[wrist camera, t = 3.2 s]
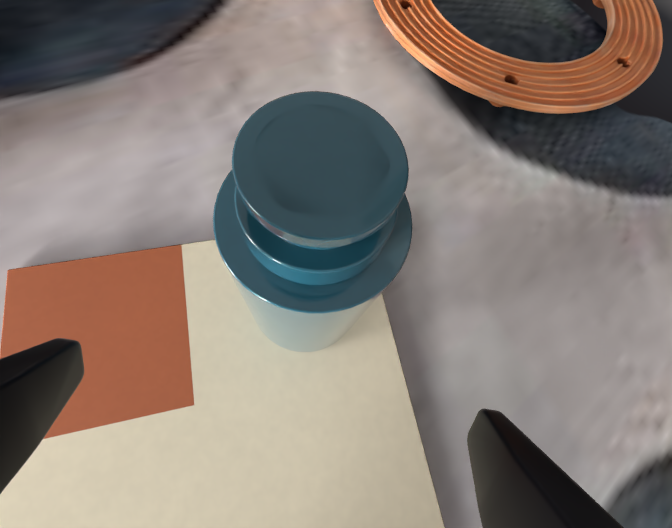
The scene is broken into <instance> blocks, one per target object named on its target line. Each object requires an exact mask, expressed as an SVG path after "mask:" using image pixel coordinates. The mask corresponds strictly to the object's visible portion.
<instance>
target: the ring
mask: <svg viewBox="0 0 672 528" xmlns="http://www.w3.org/2000/svg"><path fill="white" fill-rule="evenodd" d="M373 1H374V3H375V6H376V8H377V10H378V12H379V15H380V17H381V19H382V20H383V22H384V24H385V25H386V27H387V28H388V29H389V31H390V32H391V33H392V35H393V36H394V37H395V38H396V40H397V41H398V42H399V43H400V44H401V45H402V46H403V47H404V48H405V49H406V50H407V51H408V52H409V53H410V54H411V55H412V56H413V57H414V58H416V59H417V60H418V61H419V62H420V63H422V64H423V65H424V66H426V67H427V68H428V69H430V70H431V71H432V72H434V73H435V74H437V75H438V76H440V77H442V78H443V79H445V80H446V81H448V82H450V83H451V84H453V85H455V86H457V87H459V88H461V89H462V90H464V91H467V92H469V93H471V94H473V95H476V96H478V97H481V98H483V99H486V100H489V102H490V103H491V104H492V105H494V106H496V107H503V106H508V107H512V108H517V109H522V110H527V111H532V112H541V113H556V114H565V113H578V112H586V111H590V110H595V109H599V108H602V107H605V106H608V105H610V104H613V103H615V102H617V101H619V100H621V99H623V98H624V97H626V96H628V95H629V94H630V93H631V92H633V91H634V90H635V89H636V88H638V87H639V86H640V85H641V84H642V83H643V82H644V81H645V80H646V79H647V78H648V77H649V76H650V75H651V73H652V72H653V71H654V69H655V67H656V65H657V63H658V61H659V58H660V55H661V50H662V44H663V35H662V25H661V21H660V17H659V14H658V11H657V9H656V7H655V4H654V2H653V0H592V2H593V4H594V5H595V6H597V7H599V8H602V9H605V12H606V16H607V32H606V36H605V39H604V41H603V43H602V45H601V46H600V47H599V48H598V49H597V50H596V51H594V52H593V53H591V54H590V55H587V56H585V57H583V58H580V59H577V60H573V61H567V62H560V63H540V62H532V61H525V60H521V59H517V58H513V57H509V56H506V55H503V54H500V53H498V52H495V51H493V50H490V49H488V48H486V47H484V46H482V45H480V44H478V43H476V42H475V41H473V40H471V39H470V38H468V37H467V36H465V35H464V34H462V33H461V32H460V31H458V30H457V29H456V28H455V27H454V26H452V25H451V24H450V23H449V22H448V21H447V20H446V19H445V18H444V17H443V16H442V15H441V13H440V12H439V11H438V10H437V8H436V7H435V6H434V4H433V2H432V1H431V0H373Z"/></svg>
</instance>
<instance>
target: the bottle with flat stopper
mask: <svg viewBox="0 0 672 528" xmlns="http://www.w3.org/2000/svg"><path fill="white" fill-rule="evenodd" d="M408 172H409V168H408V159H407V155H406V152H405V148H404V146H403V144H402V141H401V139H400V138H399V136H398V134H397V133H396V131H395V130H394V129H393V127H392V126H391V125H390V124H389V123H388V122H387V121H386V119H385V118H384V117H382V116H381V115H380V114H379V113H377V112H376V111H375V110H373V109H372V108H370V107H369V106H367V105H365V104H363V103H361V102H360V101H358V100H355V99H352V98H350V97H347V96H343V95H340V94H335V93H330V92H319V91H310V92H299V93H294V94H290V95H286V96H283V97H280V98H277V99H275V100H273V101H271V102H269V103H267V104H266V105H264V106H263V107H261V108H260V109H258V110H257V111H256V112H255V113H254V114H253V115H251V116H250V118H249V119H248V120H247V121H246V122H245V124H244V125H243V127H242V128H241V130H240V132H239V134H238V136H237V138H236V141H235V144H234V148H233V154H232V170H231V171H230V173H229V174H228V176H227V177H226V179H225V180H224V182H223V184H222V186H221V188H220V190H219V193H218V195H217V199H216V202H215V206H214V215H213V229H214V235H215V241H216V244H217V247H218V250H219V253H220V255H221V257H222V259H223V261H224V263H225V265H226V267H227V269H228V270H229V272H230V274H231V276H232V278H233V280H234V282H235V284H236V285H237V287H238V289H239V291H240V293H241V295H242V297H243V299H244V300H245V302H246V304H247V306H248V308H249V310H250V312H251V314H252V316H253V317H254V319H255V321H256V323H257V325H258V327H259V328H260V330H261V331H262V332H263V334H264V335H265V336H266V337H267V338H268V339H270V340H271V341H272V342H273V343H275V344H277V345H278V346H280V347H283V348H285V349H288V350H291V351H296V352H313V351H318V350H322V349H325V348H327V347H329V346H331V345H333V344H335V343H336V342H338V341H339V340H340V339H341V338H342V337H343V336H344V335H345V334H346V333H347V332H348V331H349V330H350V329H351V328H352V326H353V325H354V324H355V323H356V322H357V321H358V320H359V318H360V317H361V316H362V315H363V314H364V313H365V312H366V310H367V309H368V308H369V307H370V306H371V305H372V303H373V302H374V301H375V300H376V299H377V298H378V297H379V295H380V294H381V293H382V292H383V291H384V290H385V289H386V287H387V286H388V285H389V284H390V283H391V282H392V281H393V279H394V278H395V277H396V275H397V274H398V272H399V271H400V270H401V268H402V266H403V264H404V262H405V260H406V257H407V254H408V252H409V249H410V244H411V238H412V218H411V211H410V207H409V203H408V200H407V198H406V195H405V191H406V188H407V183H408Z"/></svg>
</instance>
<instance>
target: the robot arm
mask: <svg viewBox="0 0 672 528" xmlns="http://www.w3.org/2000/svg"><path fill="white" fill-rule="evenodd" d="M83 376H84V362H83V355H82V348H81V344H80V343H79V342H78V341H76V340H71V339H65V338H56V339H53V340H50V341H47V342H45V343H42V344H39V345H36V346H34V347H31V348H28V349H26V350H23V351H20V352H18V353H15V354H12V355H9V356H7V357H4V358H1V359H0V494H1V493H2V491H3V490H4V489H5V488H6V486H7V485H8V484H9V483H10V481H11V480H12V479H13V478H14V476H15V475H16V474H17V473H18V471H19V470H20V469H21V468H22V466H23V465H24V464H25V463H26V461H27V460H28V459H29V457H30V456H31V455H32V453H33V452H34V451H35V450H36V448H37V447H38V445H39V444H40V443H41V441H42V440H43V438H44V437H45V435H46V434H47V432H48V431H49V429H50V428H51V426H52V425H53V423H54V422H55V420H56V419H57V417H58V416H59V414H60V413H61V411H62V410H63V408H64V407H65V405H66V404H67V402H68V400H69V399H70V397H71V396H72V394H73V393H74V391H75V390H76V388H77V387H78V385H79V384H80V382H81V380H82V378H83ZM467 443H468V450H469V456H470V462H471V468H472V473H473V479H474V485H475V491H476V497H477V503H478V508H479V513H480V518H481V522H482V526H483V528H623V527H622V526H621V525H620V524H619V523H618V522H617V521H616V520H615V519H614V518H613V517H612V516H611V515H610V514H609V513H608V512H606V511H605V510H604V509H603V508H602V507H601V506H600V505H599V504H598V503H597V502H596V501H595V500H594V499H593V498H592V497H591V496H589V495H588V494H587V493H586V492H585V491H584V490H583V489H582V488H581V487H580V486H579V485H578V484H577V483H576V482H575V481H574V480H572V479H571V478H570V477H569V476H568V475H567V474H566V473H565V472H564V471H563V470H562V469H561V468H560V467H559V466H558V465H557V464H555V463H554V462H553V461H552V460H551V459H550V458H549V457H548V456H547V455H546V454H545V453H544V452H543V451H542V450H541V449H540V448H538V447H537V446H536V445H535V444H534V443H533V442H532V441H531V440H530V439H529V438H528V437H527V436H526V435H525V434H524V433H523V432H521V431H520V430H519V429H518V428H517V427H516V426H515V425H514V424H513V423H512V422H511V421H510V420H509V419H508V418H507V417H506V416H504V415H503V414H502V413H501V412H499V411H496V410H490V409H481V410H480V411H479V412H478V414H477V416H476V418H475V420H474V422H473V424H472V426H471V428H470V430H469V433H468V438H467Z"/></svg>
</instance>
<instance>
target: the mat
mask: <svg viewBox="0 0 672 528" xmlns="http://www.w3.org/2000/svg"><path fill="white" fill-rule="evenodd" d="M56 338H65V339H71V340H76V341H78V342H79V343H80V344H81V348H82V355H83V362H84V376H83V378H82V380H81V382H80V384H79V385H78V387H77V388H76V390H75V391H74V393H73V394H72V396H71V397H70V399H69V400H68V402H67V404H66V405H65V407H64V408H63V410H62V411H61V413H60V414H59V416H58V417H57V419H56V420H55V422H54V423H53V425H52V426H51V428H50V429H49V431H48V432H47V434H46V435H45V437H44V438H43V440H42V441H41V443H40V444H39V445H38V447H37V448H36V450H35V451H34V452H33V453H32V455H31V456H30V457H29V459H28V460H27V461H26V463H25V464H24V465H23V466H22V468H21V469H20V470H19V471H18V473H17V474H16V475H15V476H14V478H13V479H12V480H11V481H10V483H9V484H8V485H7V486H6V488H5V489H4V490H3V491H2V493H1V494H0V528H445V526H444V523H443V519H442V515H441V512H440V508H439V504H438V500H437V497H436V493H435V489H434V485H433V482H432V478H431V474H430V471H429V467H428V463H427V459H426V456H425V452H424V448H423V444H422V441H421V437H420V433H419V430H418V426H417V422H416V418H415V415H414V411H413V407H412V403H411V400H410V396H409V392H408V388H407V385H406V381H405V377H404V374H403V370H402V366H401V362H400V359H399V355H398V351H397V347H396V344H395V340H394V336H393V333H392V329H391V325H390V321H389V318H388V314H387V310H386V306H385V303H384V299H383V295H382V293H381V294H380V295H379V297H378V298H377V299H376V300H375V301H374V302H373V303H372V305H371V306H370V307H369V308H368V309H367V310H366V312H365V313H364V314H363V315H362V316H361V317H360V318H359V320H358V321H357V322H356V323H355V324H354V325H353V326H352V328H351V329H350V330H349V331H348V332H347V333H346V334H345V335H344V336H343V337H342V338H341V339H340V340H339V341H338V342H336V343H335V344H333V345H331V346H329V347H327V348H325V349H322V350H318V351H313V352H296V351H291V350H288V349H285V348H283V347H280V346H278V345H277V344H275V343H273V342H272V341H271V340H270V339H268V338H267V337H266V336H265V335H264V334H263V332H262V331H261V330H260V328H259V327H258V325H257V323H256V321H255V319H254V317H253V316H252V314H251V312H250V310H249V308H248V306H247V304H246V302H245V300H244V299H243V297H242V295H241V293H240V291H239V289H238V287H237V285H236V284H235V282H234V280H233V278H232V276H231V274H230V272H229V270H228V269H227V267H226V265H225V263H224V261H223V259H222V257H221V255H220V253H219V250H218V247H217V244H216V241H215V240H209V241H202V242H195V243H188V244H181V245H174V246H167V247H161V248H154V249H147V250H140V251H133V252H126V253H120V254H113V255H106V256H99V257H92V258H85V259H78V260H72V261H65V262H58V263H51V264H44V265H37V266H31V267H24V268H17V269H10V270H8V273H7V284H6V295H5V306H4V317H3V328H2V339H1V350H0V359H1V358H4V357H7V356H9V355H12V354H15V353H18V352H20V351H23V350H26V349H28V348H31V347H34V346H36V345H39V344H42V343H45V342H47V341H50V340H53V339H56Z"/></svg>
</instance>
